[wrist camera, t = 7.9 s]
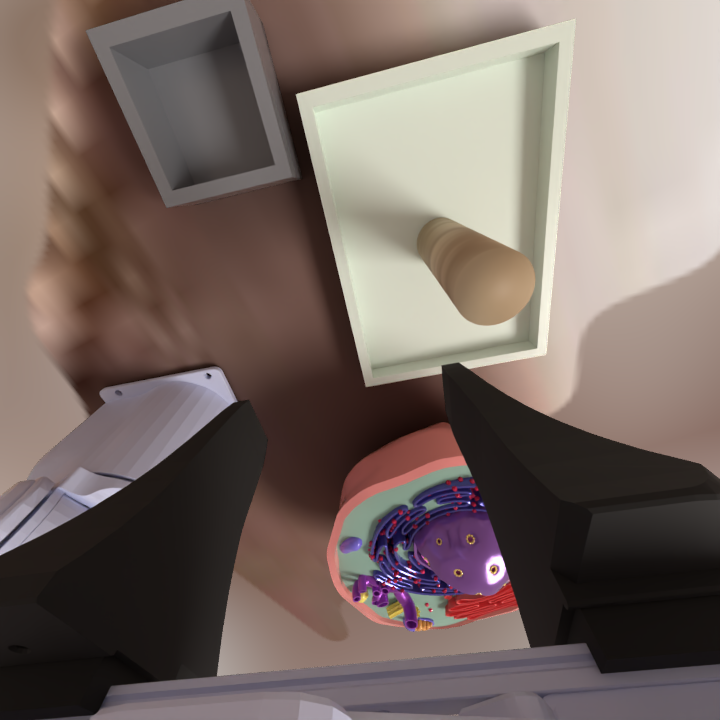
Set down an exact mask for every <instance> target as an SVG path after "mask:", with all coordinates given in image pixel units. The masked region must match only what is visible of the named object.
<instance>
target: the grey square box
mask: <svg viewBox="0 0 720 720" xmlns="http://www.w3.org/2000/svg"><path fill="white" fill-rule="evenodd" d="M86 33H87V35H88V37H89V39H90V41H91V44H92V46H93V48H94V50H95V52H96V55H97V57H98V59H99V61H100V63H101V65H102V68H103V70H104V72H105V74H106V76H107V79H108V81H109V83H110V85H111V87H112V90H113V92H114V94H115V96H116V98H117V101H118V103H119V105H120V107H121V109H122V111H123V114H124V116H125V118H126V120H127V122H128V125H129V127H130V129H131V131H132V133H133V136H134V138H135V140H136V142H137V144H138V146H139V149H140V151H141V153H142V155H143V157H144V160H145V162H146V164H147V166H148V168H149V171H150V173H151V175H152V177H153V179H154V181H155V184H156V186H157V188H158V190H159V192H160V195H161V197H162V199H163V201H164V203H165V206H166V208H170V207H179V206H188V205H197V204H201V203H205V202H209V201H213V200H217V199H222V198H226V197H230V196H234V195H238V194H242V193H246V192H250V191H254V190H258V189H262V188H266V187H271V186H275V185H279V184H283V183H287V182H291V181H295V180H299V179H303V178H302V174H301V170H300V166H299V162H298V159H297V155H296V151H295V147H294V143H293V139H292V135H291V131H290V127H289V124H288V120H287V116H286V112H285V108H284V104H283V100H282V96H281V92H280V89H279V85H278V81H277V77H276V73H275V69H274V65H273V61H272V57H271V54H270V50H269V46H268V42H267V38H266V34H265V30H264V26H263V23H262V21H261V19H260V18H259V16H258V14H257V12H256V11H255V9H254V7H253V5H252V4H251V2H250V0H183V1H179V2H176V3H173V4H170V5H167V6H163V7H160V8H157V9H154V10H150V11H147V12H144V13H141V14H137V15H134V16H131V17H128V18H125V19H121V20H118V21H115V22H112V23H108V24H105V25H102V26H99V27H95V28H92V29H89V30H86Z"/></svg>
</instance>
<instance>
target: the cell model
mask: <svg viewBox="0 0 720 720" xmlns="http://www.w3.org/2000/svg"><path fill="white" fill-rule="evenodd" d="M327 561H328V565H329V569H330V573H331V577H332V580H333V583H334V585H335V587H336V589H337V591H338V592H339V593H340V595H341V596H342V597H343V598H344V599H345V600H347V601H348V602H349V603H351V605H353V606H354V607H355V608H356V609H358V610H359V611H360V612H361V613H363V614H364V615H365V616H366V617H368V618H369V619H371V620H372V621H374V622H377V623H380V624H384V625H391V626H398V627H405V628H406V629H407V630H409V631H413V632H414V631H415V630H416V631H420V630H423V631H425V630H428V629H444V628H451V627H458V626H462V625H465V624H468V623H471V622H473V621H477V620H481V619H485V618H490V617H494V616H498V615H502V614H507V613H511V612H514V611H516V610H519V608H518V605H517V602H516V598H515V595H514V592H513V589H512V586H511V583H510V580H509V577H508V573H507V570H506V567H505V564H504V561H503V558H502V555H501V552H500V549H499V546H498V543H497V540H496V537H495V534H494V531H493V528H492V525H491V522H490V520H489V517H488V514H487V511H486V508H485V505H484V502H483V500H482V497H481V495H480V492H479V490H478V488H477V485H476V483H475V481H474V479H473V477H472V475H471V472H470V470H469V468H468V466H467V464H466V462H465V459H464V457H463V455H462V453H461V451H460V449H459V446H458V444H457V442H456V440H455V438H454V435H453V433H452V429H451V426H450V423H445V422H441V423H435V424H433V425H431V426H429V427H426V428H424V429H421V430H418V431H415V432H412V433H410V434H407V435H405V436H402V437H400V438H397V439H395V440H393V441H391V442H389V443H387V444H386V445H384V446H382V447H380V448H379V449H377V450H375V451H374V452H372V453H370V454H368V455H367V456H365V457H364V458H363V459H362V460H360V461H359V462H358V463H357V464H356V465H355V466H354V467H353V468H352V469H351V470H350V472H349V473H348V475H347V476H346V478H345V481H344V484H343V487H342V492H341V498H340V505H339V511H338V514H337V516H336V520H335V524H334V527H333V531H332V534H331V538H330V541H329V545H328V548H327Z"/></svg>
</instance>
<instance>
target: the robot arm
mask: <svg viewBox="0 0 720 720" xmlns="http://www.w3.org/2000/svg"><path fill="white" fill-rule="evenodd" d="M441 367H442V378H443V388H444V399H445V409H446V413H447V417H448V420H449V423H450V426H451V429H452V433H453V435H454V438H455V440H456V442H457V444H458V446H459V449H460V451H461V453H462V455H463V457H464V459H465V462H466V464H467V466H468V468H469V470H470V472H471V475H472V477H473V479H474V481H475V483H476V485H477V488H478V490H479V492H480V495H481V497H482V500H483V502H484V505H485V508H486V511H487V514H488V517H489V520H490V522H491V525H492V528H493V531H494V534H495V537H496V540H497V543H498V546H499V549H500V552H501V555H502V558H503V561H504V564H505V567H506V570H507V573H508V577H509V580H510V583H511V586H512V589H513V592H514V595H515V598H516V602H517V605H518V608H519V611H520V615H521V618H522V621H523V624H524V628H525V631H526V634H527V637H528V640H529V644H530V647H531V648H524V649H513V650H502V651H491V652H480V653H469V654H458V655H447V656H436V657H425V658H414V659H403V660H393V661H382V662H371V663H360V664H348V665H337V666H326V667H315V668H304V669H293V670H283V671H271V672H259V673H249V674H238V675H227V676H217V669H218V662H219V654H220V646H221V637H222V631H223V625H224V619H225V612H226V606H227V600H228V594H229V589H230V584H231V578H232V573H233V568H234V563H235V559H236V554H237V550H238V545H239V541H240V536H241V533H242V529H243V526H244V522H245V519H246V516H247V513H248V510H249V507H250V504H251V501H252V498H253V495H254V492H255V489H256V486H257V483H258V480H259V477H260V474H261V471H262V468H263V464H264V459H265V454H266V448H267V442H268V439H267V437H266V435H265V433H264V431H263V429H262V427H261V424H260V422H259V420H258V418H257V416H256V414H255V412H254V409H253V407H252V405H251V403H250V401H249V400H244V401H239V402H238V401H237V399H236V397H235V395H234V393H233V391H232V389H231V387H230V385H229V383H228V381H227V379H226V377H225V375H224V373H223V371H222V370H221V369H220V368H219V367H209V368H204V369H198V370H193V371H188V372H183V373H178V374H173V375H167V376H162V377H157V378H152V379H147V380H142V381H136V382H131V383H126V384H121V385H116V386H111V387H106V388H103V389H102V390H101V391H100V396H101V398H102V399H103V400H104V402H105V404H104V405H103V406H101V407H100V408H99V409H98V410H97V411H96V412H94V413H93V414H92V415H91V416H90V417H89V418H87V419H86V420H85V421H84V422H83V423H81V424H80V425H79V426H78V427H77V428H76V429H74V430H73V431H72V432H71V433H70V434H69V435H67V436H66V437H65V438H64V439H63V440H62V441H60V442H59V443H58V444H57V445H56V446H55V447H54V448H52V449H51V450H50V451H49V452H48V453H46V454H45V455H44V456H43V457H42V458H41V459H40V460H39V461H38V462H37V464H36V465H35V466H34V468H33V469H32V471H31V473H30V474H29V476H28V478H27V480H26V481H20V482H18V483H16V484H15V485H13V486H12V487H11V488H9V489H8V490H7V491H6V492H4V493H3V494H2V495H1V496H0V720H720V479H719V478H718V477H717V476H715V475H714V474H713V473H712V472H710V471H709V470H708V469H706V468H705V467H704V466H702V465H701V464H699V463H695V462H691V461H687V460H682V459H678V458H674V457H671V456H666V455H662V454H658V453H654V452H650V451H646V450H642V449H639V448H636V447H632V446H629V445H626V444H622V443H619V442H616V441H612V440H609V439H606V438H603V437H600V436H597V435H594V434H591V433H589V432H586V431H583V430H581V429H578V428H575V427H573V426H570V425H568V424H565V423H562V422H560V421H558V420H555V419H553V418H551V417H549V416H547V415H545V414H542V413H540V412H538V411H536V410H534V409H532V408H530V407H528V406H526V405H524V404H522V403H520V402H519V401H517V400H515V399H513V398H511V397H510V396H508V395H506V394H505V393H503V392H501V391H500V390H498V389H497V388H495V387H493V386H492V385H490V384H489V383H487V382H486V381H484V380H483V379H482V378H480V377H479V376H477V375H476V374H475V373H473V372H472V371H470V370H469V369H468V368H466V367H465V366H463V365H462V364H461V363H459V362H457V363H452V364H446V365H441ZM206 373H209V374H210V375H211V376H208V375H207V374H206ZM120 391H121V392H122V393H121V392H120ZM455 714H456V715H457V714H459V715H458V716H456V715H455Z"/></svg>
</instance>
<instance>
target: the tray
mask: <svg viewBox="0 0 720 720" xmlns="http://www.w3.org/2000/svg"><path fill="white" fill-rule="evenodd" d="M575 27H576V19H572V20H568V21H565V22H561V23H557V24H553V25H550V26H546V27H542V28H539V29H535V30H531V31H528V32H524V33H520V34H516V35H513V36H509V37H505V38H502V39H498V40H494V41H491V42H487V43H483V44H480V45H476V46H472V47H468V48H465V49H461V50H457V51H454V52H450V53H446V54H443V55H439V56H435V57H431V58H428V59H424V60H420V61H417V62H413V63H409V64H406V65H402V66H398V67H395V68H391V69H387V70H383V71H380V72H376V73H372V74H369V75H365V76H361V77H358V78H354V79H350V80H346V81H343V82H339V83H335V84H332V85H328V86H324V87H321V88H317V89H313V90H310V91H306V92H302V93H298V94H296V97H297V101H298V106H299V110H300V114H301V118H302V122H303V126H304V131H305V135H306V139H307V143H308V147H309V151H310V156H311V160H312V164H313V168H314V172H315V177H316V181H317V185H318V189H319V193H320V197H321V202H322V206H323V210H324V214H325V218H326V223H327V227H328V231H329V235H330V239H331V243H332V248H333V252H334V256H335V260H336V264H337V268H338V273H339V277H340V281H341V285H342V289H343V294H344V298H345V302H346V306H347V310H348V314H349V319H350V323H351V327H352V331H353V335H354V339H355V344H356V348H357V352H358V356H359V360H360V365H361V369H362V373H363V377H364V381H365V385H366V387H370V386H375V385H381V384H386V383H392V382H398V381H403V380H409V379H414V378H420V377H425V376H431V375H437V374H442V367H441V365H446V364H452V363H457V362H459V363H461V364H462V365H463V366H465V367H466V368H468V369H470V368H476V367H481V366H487V365H492V364H498V363H504V362H509V361H515V360H520V359H526V358H532V357H537V356H543V355H546V352H547V340H548V329H549V318H550V307H551V296H552V284H553V273H554V262H555V251H556V240H557V228H558V217H559V206H560V195H561V184H562V172H563V161H564V150H565V139H566V128H567V116H568V105H569V94H570V83H571V71H572V60H573V49H574V38H575ZM436 218H449V219H451V220H453V221H455V222H457V223H459V224H462V225H464V226H466V227H468V228H470V229H472V230H474V231H476V232H478V233H480V234H483V235H485V236H487V237H489V238H491V239H493V240H495V241H497V242H499V243H501V244H504V245H506V246H508V247H510V248H512V249H514V250H516V251H518V252H520V253H522V254H523V255H525V256H526V257H527V258H528V259H529V261H530V262H531V264H532V266H533V268H534V272H535V287H534V291H533V294H532V296H531V298H530V300H529V302H528V303H527V304H526V306H525V307H524V308H523V309H522V310H521V311H520V312H519V313H518V314H517V315H515V316H514V317H513V318H511V319H509V320H507V321H505V322H503V323H500V324H496V325H490V326H483V325H477V324H474V323H472V322H469V321H468V320H466V319H465V318H464V317H463V316H462V315H461V314H460V313H459V311H458V310H457V308H456V307H455V305H454V304H453V303H452V301H451V300H450V298H449V297H448V295H447V294H446V293H445V291H444V290H443V288H442V287H441V285H440V284H439V282H438V281H437V280H436V278H435V277H434V275H433V274H432V272H431V271H430V270H429V268H428V267H427V265H426V264H425V262H424V261H423V259H422V258H421V257H420V255H419V253H418V250H417V238H418V235H419V233H420V231H421V229H422V228H423V227H424V225H425V224H427V223H428V222H429V221H431V220H433V219H436Z"/></svg>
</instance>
